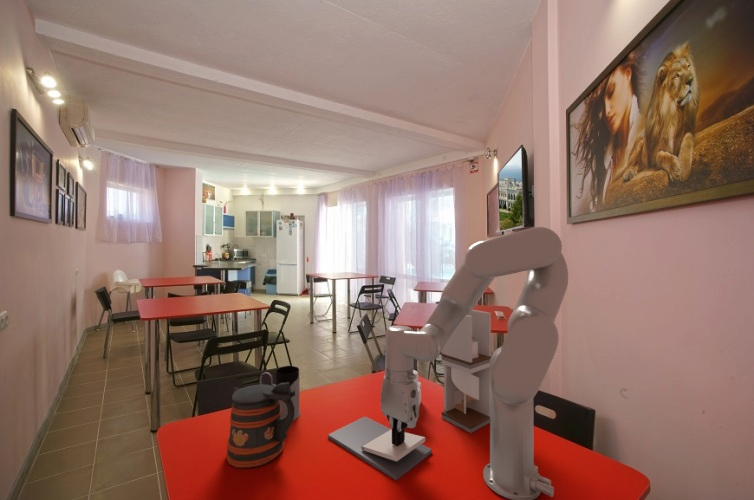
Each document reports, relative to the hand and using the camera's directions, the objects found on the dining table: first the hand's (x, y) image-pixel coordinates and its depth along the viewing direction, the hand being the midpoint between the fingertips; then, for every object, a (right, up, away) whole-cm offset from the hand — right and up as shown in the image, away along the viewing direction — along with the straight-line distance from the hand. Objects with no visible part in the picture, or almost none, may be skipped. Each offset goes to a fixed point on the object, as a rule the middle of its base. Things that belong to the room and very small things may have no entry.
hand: (398, 442), depth 86 cm
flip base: (-5, -4, +5) cm, 8 cm away
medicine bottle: (+6, -5, +30) cm, 31 cm away
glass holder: (-38, -4, +23) cm, 45 cm away
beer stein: (-36, -4, +2) cm, 37 cm away
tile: (-1, -1, +2) cm, 2 cm away
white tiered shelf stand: (+23, -4, +20) cm, 31 cm away
